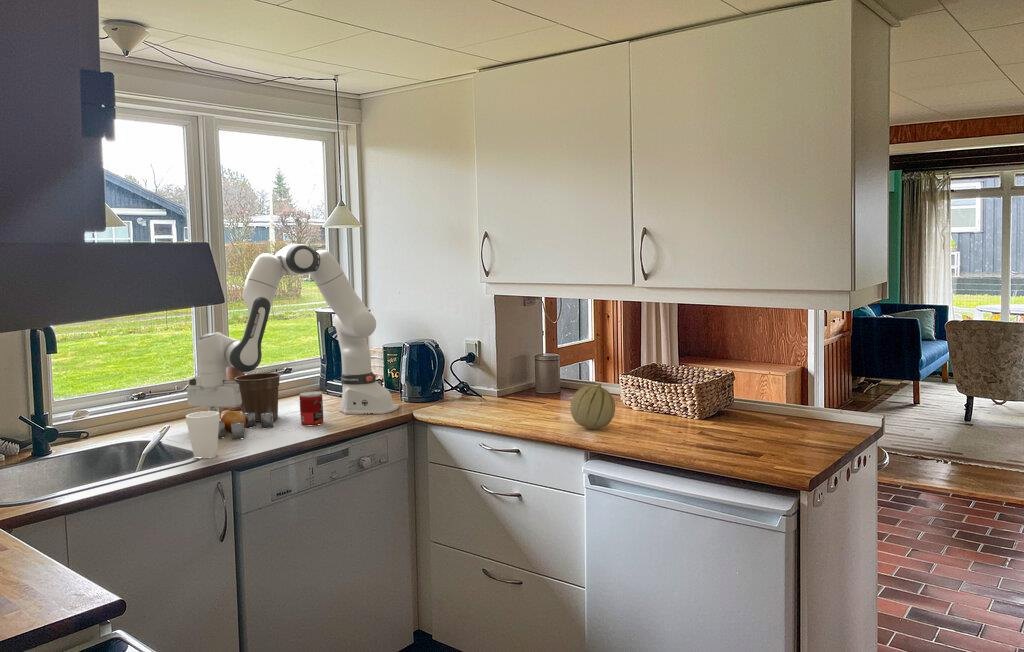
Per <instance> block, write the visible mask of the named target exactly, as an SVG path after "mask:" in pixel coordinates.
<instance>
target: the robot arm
mask: <svg viewBox="0 0 1024 652" xmlns="http://www.w3.org/2000/svg"><path fill="white" fill-rule="evenodd" d="M301 274H302V275H303V274H309V275H310V276H311V277H312V279H313V281H314V282H315V284H316V287H317V288H318V290H319V292H320V294H321V295H322V298H323V299H324V301H325V303H326V304H327V305H328V307H330V308H331V310H332V311H333V312H334V313H335V315H334V317H333V325H334V328H335V330H336V336H337V339H338V340H337V341H338V345H339V349H340V354H341V355H340V356H341V357H340V358H341V374H340V376H341V379H340V380H341V387H342V393H341V401H340V407H339V412H342V413H344V415H371V414H370V413H373V414H372V415H384V414H388V413H391V412H394V411H396V410H398V409H399V408H400V406H399V404H397V403H394V402H393V397H392V396H393V395H392V394H391V392H390V391H389V390H388V389H387V388H385V387H384V386H382V385H381V384H380V383H378V382H377V380H376V379H377V378H379V376H378V375H379V374H378V373H376V374H375V373H374V372H373V371H372V355H371V349H370V347H369V345H368V341H367V337H370V336H371V335H373V334H374V332H375V330H376V329H377V328H376V327H377V319H376V318H375V316H374V315H373V314H372V312H370V310H369V309H368V308H367V306H366V304H365V303H364V302H363V300H362V299H361V298H360V296H359V295H358V293H356V291H355V290H354V288H353V286H352V285H351V283H350V281H349V279H348V278H347V275H346V274H345V272H344V270H343V268H342V267H341V265H340V264H339V262H338V261H337V259H336V258H335V256H334V255H333V254H332V253H331V252H330V251H329V250H327V249H319V250H315V249H312V247H310V246H308V245H307V244H304V243H293V244H292V243H291V244H289V245H284V246H282V247H281V248H279V249H278V250H277V251H276V252H274V253H273V254H272V253H262V254H259V255H258V256H257V257H256V258H255V260H254V261H253V264H252V266H251V267H250V269H249V272H248V274H247V275H246V276H247V277H246V279H245V281H244V285H243V291H242V300H243V302H244V304H245V305H246V307H247V311H248V318H247V321H246V324H245V328H244V331H243V335H242V338H241V339H237V338H232V337H230V336H227V335H225V334H223V333H222V332H219V331H216V332H209V333H205V334H203V335H202V336H200V337H199V338H198V341H197V361H198V363H199V369H198V375H197V376H195V377H192V378H189V379H187V380H186V384H187V386H188V387H187V390H186V392H187V393H186V398H187V403H188V405H189V406H191V407H206V411H215V410H216V411H217V412H219V414H220V420H221V418H222V412H223V410H224V408H234V409H235V408H238V407H241V404H242V399H241V393H240V389H239V384H238V383H237V382H236V381H235V380H234V379H233V380H228V378H227V368H228V367H232V368H234V369H236V370H237V371H240V372H242V373H247V372H248V373H249V372H252V371H254V370H255V369H257V368H258V367H259V365H260V364H261V362H262V357H263V356H262V340H263V337H264V333H265V332H266V331H265V330H266V326H267V324H268V319H269V316H270V311H271V308H272V304H273V302H274V299H275V297H276V294H277V290H278V288H279V285H280V282H281V280H282V278H283V277H284V276H285V275H287V276H289V275H292V276H298V275H301ZM364 413H365V414H364ZM367 413H368V414H367Z"/></svg>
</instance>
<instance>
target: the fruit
mask: <svg viewBox="0 0 1024 652" xmlns="http://www.w3.org/2000/svg"><path fill="white" fill-rule="evenodd" d="M220 421H225V431H226V432H227V433H230V434H232V432H231V423H235V422H244V427H245V426H246V419H245V416H244V415H243V414H242V412H240V411H239V412H236V410H230V411H227V412H225V413H224V414H223V415H221V419H220Z"/></svg>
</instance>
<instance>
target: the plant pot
mask: <svg viewBox="0 0 1024 652" xmlns="http://www.w3.org/2000/svg"><path fill="white" fill-rule="evenodd" d="M281 376H282V375H281V373H279V372H277V373H276V372H260V373H259V372H258V373H249V374H242V375H239V376H236V377H234V379H233V380H234V381H236V382H237V383H238V384H239V389H240V393H241V399H242V404H241V405H240V407H241V413H242V415H243V413H244V412H255V421H256V422H260V423H261V413H264V412H273V420H275V419H278V417H279V386H280V377H281Z"/></svg>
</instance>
